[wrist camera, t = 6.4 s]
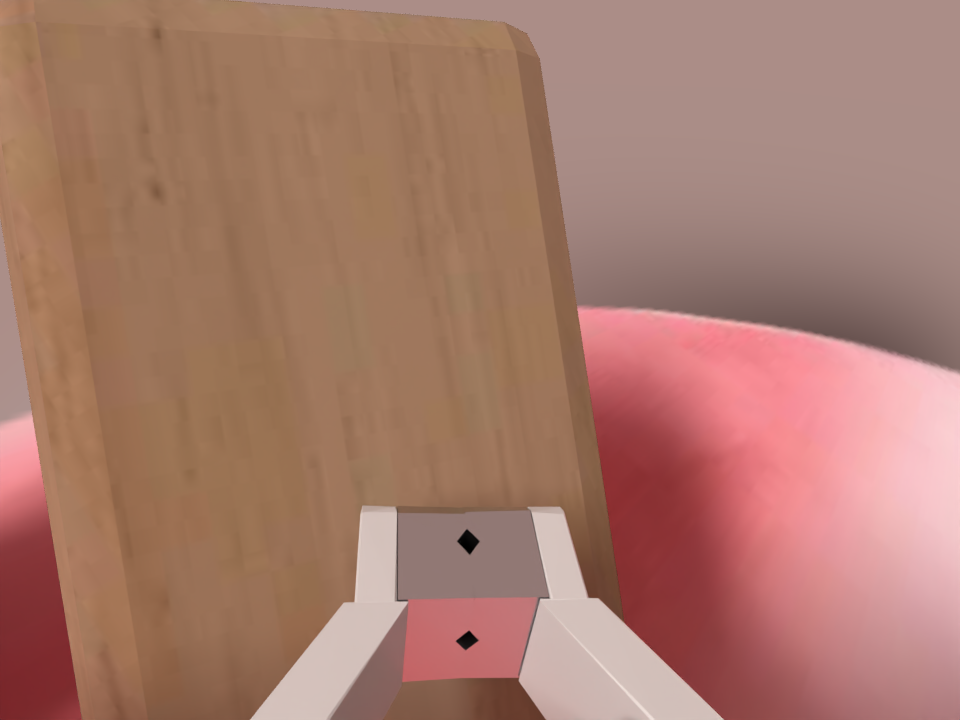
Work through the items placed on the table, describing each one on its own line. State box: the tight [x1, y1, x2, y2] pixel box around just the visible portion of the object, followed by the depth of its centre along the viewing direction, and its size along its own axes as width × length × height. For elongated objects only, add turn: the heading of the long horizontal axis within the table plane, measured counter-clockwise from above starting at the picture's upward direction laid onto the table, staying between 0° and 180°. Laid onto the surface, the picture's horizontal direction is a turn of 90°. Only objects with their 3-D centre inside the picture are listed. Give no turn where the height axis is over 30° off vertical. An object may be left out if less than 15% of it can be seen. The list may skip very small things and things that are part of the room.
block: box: [0, 0, 624, 720], centre depth 16 cm, size 10×10×20 cm
